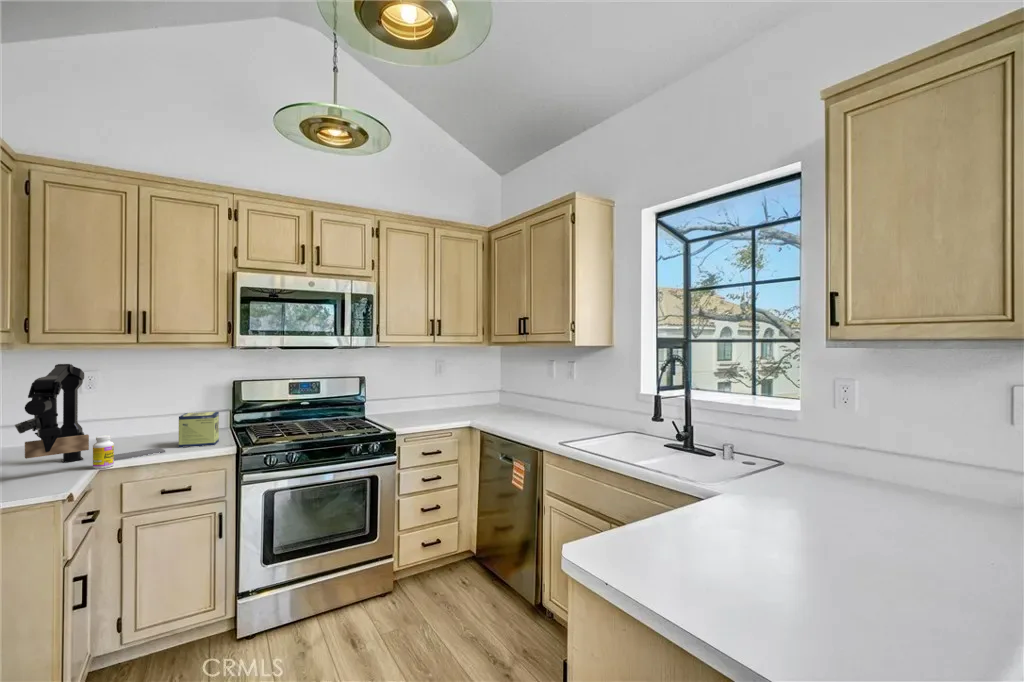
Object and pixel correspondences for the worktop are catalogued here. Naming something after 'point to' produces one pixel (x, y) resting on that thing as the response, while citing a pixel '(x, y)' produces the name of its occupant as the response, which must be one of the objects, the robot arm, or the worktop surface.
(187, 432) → the protein box
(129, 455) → the mat
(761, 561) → the worktop surface
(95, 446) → the supplement bottle
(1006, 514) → the worktop surface
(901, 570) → the worktop surface
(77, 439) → the brown wooden plank
